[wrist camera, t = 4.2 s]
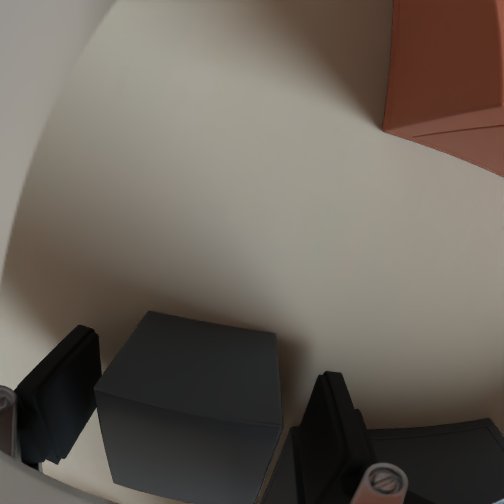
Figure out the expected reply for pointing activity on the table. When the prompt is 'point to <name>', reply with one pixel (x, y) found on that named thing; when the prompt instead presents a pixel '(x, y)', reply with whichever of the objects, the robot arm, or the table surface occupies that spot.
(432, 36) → the terracotta bin
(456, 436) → the charcoal bin
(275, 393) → the charcoal block
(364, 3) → the table surface
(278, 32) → the table surface
